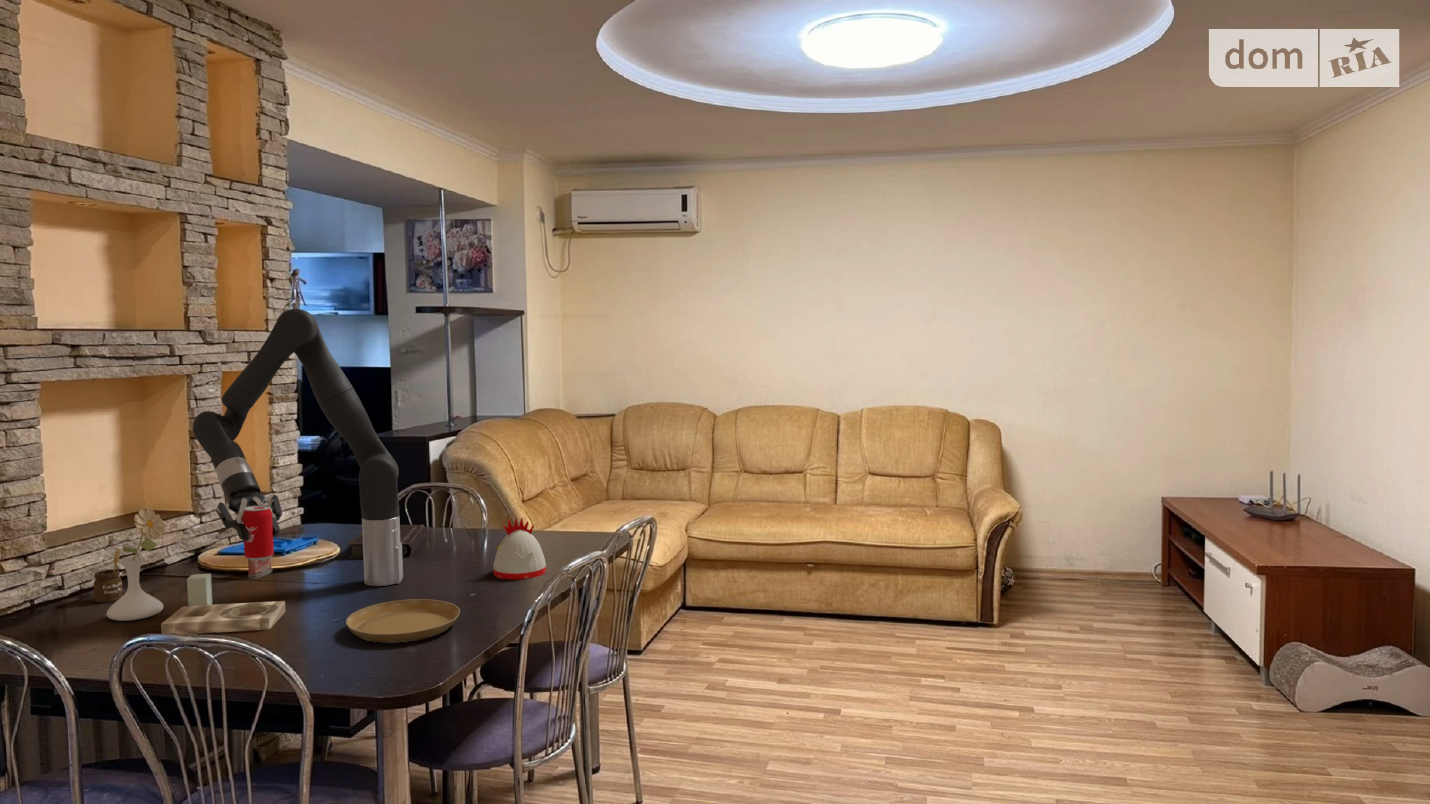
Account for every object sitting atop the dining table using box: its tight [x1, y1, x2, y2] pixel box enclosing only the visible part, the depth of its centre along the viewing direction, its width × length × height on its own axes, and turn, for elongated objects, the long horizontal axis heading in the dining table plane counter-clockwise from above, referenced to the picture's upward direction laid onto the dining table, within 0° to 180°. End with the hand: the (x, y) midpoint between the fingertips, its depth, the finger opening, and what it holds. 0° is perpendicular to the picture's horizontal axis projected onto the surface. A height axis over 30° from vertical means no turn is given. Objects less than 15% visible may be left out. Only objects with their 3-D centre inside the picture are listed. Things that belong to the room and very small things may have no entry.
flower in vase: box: [105, 508, 166, 622], centre depth 223 cm, size 13×11×25 cm
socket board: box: [160, 600, 286, 635], centre depth 217 cm, size 22×13×3 cm, turn 100°
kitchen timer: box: [493, 517, 547, 580], centre depth 260 cm, size 14×14×15 cm
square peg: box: [186, 573, 213, 606], centre depth 225 cm, size 4×4×9 cm
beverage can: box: [242, 504, 275, 560], centre depth 225 cm, size 6×6×12 cm
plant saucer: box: [345, 598, 461, 644], centre depth 214 cm, size 24×24×3 cm
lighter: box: [247, 556, 273, 579], centre depth 259 cm, size 8×3×10 cm, turn 168°
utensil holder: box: [92, 548, 123, 604], centre depth 237 cm, size 6×6×12 cm
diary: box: [347, 524, 427, 560], centre depth 289 cm, size 19×25×5 cm
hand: (261, 536), depth 224 cm, fingers closed on beverage can, 6 cm apart
